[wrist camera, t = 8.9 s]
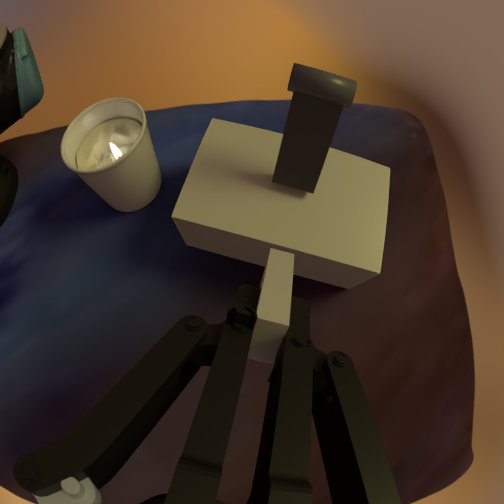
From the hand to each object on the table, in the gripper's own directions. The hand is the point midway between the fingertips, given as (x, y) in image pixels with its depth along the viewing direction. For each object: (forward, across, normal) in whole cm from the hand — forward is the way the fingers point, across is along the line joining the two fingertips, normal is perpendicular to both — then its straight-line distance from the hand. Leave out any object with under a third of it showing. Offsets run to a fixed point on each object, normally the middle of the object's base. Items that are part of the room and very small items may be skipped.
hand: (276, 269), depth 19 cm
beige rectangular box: (+18, 0, -4) cm, 19 cm away
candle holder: (+19, -20, -4) cm, 28 cm away
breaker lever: (+12, 0, +2) cm, 12 cm away
